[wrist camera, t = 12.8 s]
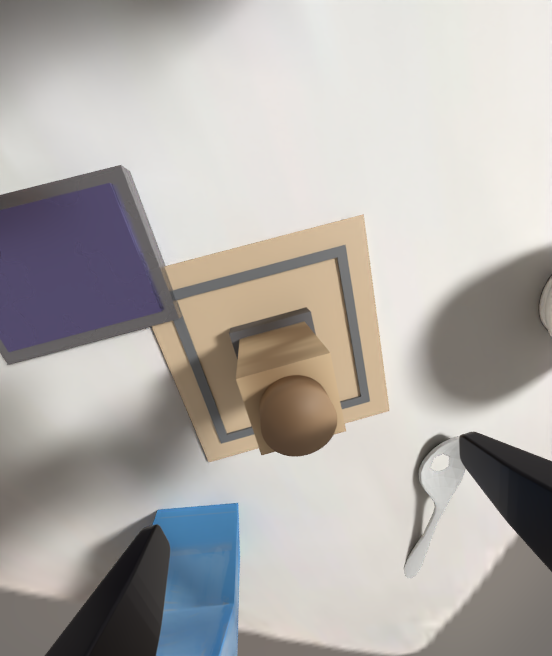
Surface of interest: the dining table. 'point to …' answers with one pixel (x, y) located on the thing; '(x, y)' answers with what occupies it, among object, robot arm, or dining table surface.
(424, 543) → the spoon
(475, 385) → the dining table surface
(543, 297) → the lidded jar
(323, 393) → the stamp
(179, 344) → the print sheet
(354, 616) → the dining table surface
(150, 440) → the dining table surface
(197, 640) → the perfume bottle
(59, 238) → the ink pad
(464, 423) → the dining table surface
